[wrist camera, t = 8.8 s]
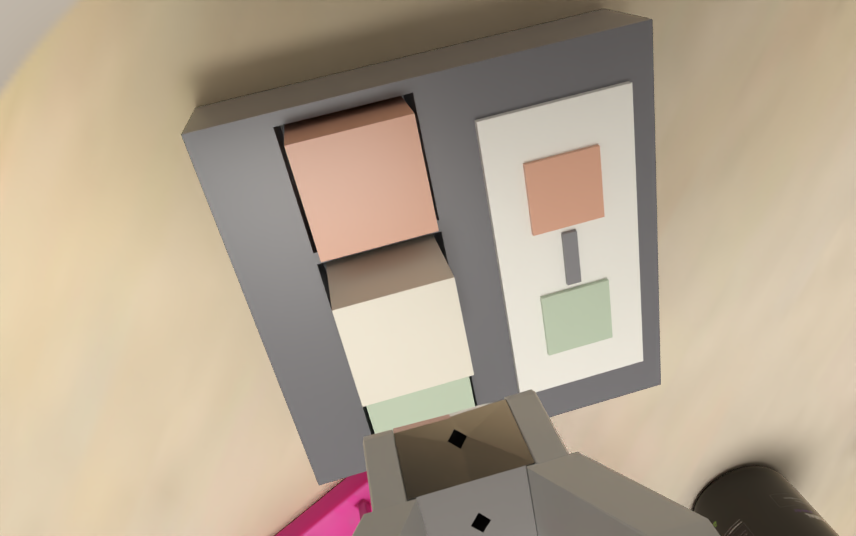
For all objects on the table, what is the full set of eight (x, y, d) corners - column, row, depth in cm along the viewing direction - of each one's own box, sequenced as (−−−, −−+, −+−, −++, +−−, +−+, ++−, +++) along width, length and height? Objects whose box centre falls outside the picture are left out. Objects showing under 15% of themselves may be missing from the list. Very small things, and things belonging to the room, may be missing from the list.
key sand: (431, 231, 26) (454, 277, 22) (450, 320, 28) (474, 375, 25) (325, 260, 26) (332, 310, 22) (352, 348, 28) (362, 406, 24)
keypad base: (603, 8, 26) (659, 20, 23) (622, 339, 35) (666, 390, 31) (195, 107, 25) (179, 138, 21) (315, 428, 33) (319, 493, 29)
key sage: (447, 322, 30) (468, 372, 26) (462, 393, 32) (484, 449, 29) (355, 347, 30) (364, 401, 26) (377, 418, 32) (388, 477, 28)
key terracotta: (396, 89, 25) (414, 113, 21) (418, 193, 27) (438, 230, 23) (284, 116, 24) (284, 146, 21) (316, 220, 26) (320, 262, 23)
